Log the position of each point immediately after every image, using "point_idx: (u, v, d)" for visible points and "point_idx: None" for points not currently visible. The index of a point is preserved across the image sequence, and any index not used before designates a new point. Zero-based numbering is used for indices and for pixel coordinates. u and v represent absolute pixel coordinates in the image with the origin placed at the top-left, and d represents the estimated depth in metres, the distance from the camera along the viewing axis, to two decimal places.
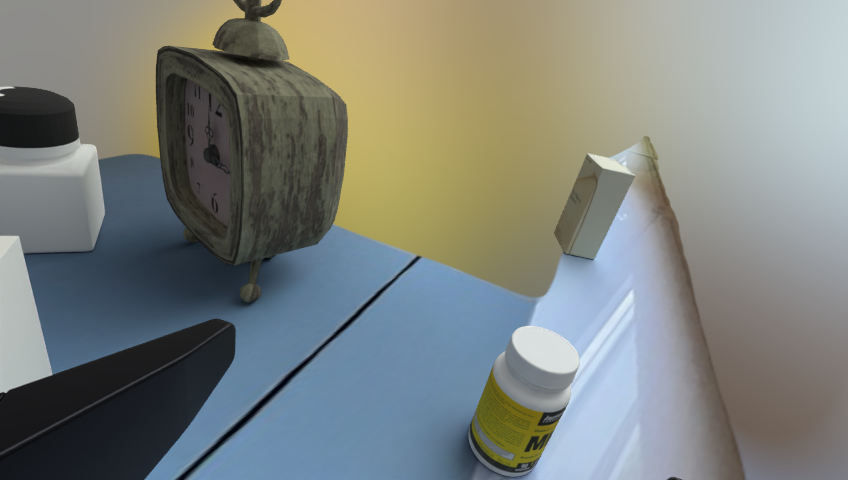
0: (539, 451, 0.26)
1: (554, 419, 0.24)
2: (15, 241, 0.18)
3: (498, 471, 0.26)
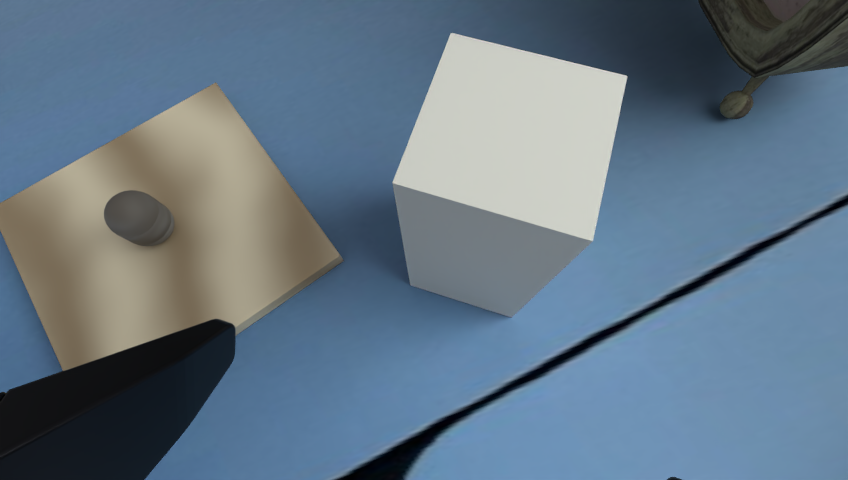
0: None
1: None
2: (624, 86, 0.13)
3: None
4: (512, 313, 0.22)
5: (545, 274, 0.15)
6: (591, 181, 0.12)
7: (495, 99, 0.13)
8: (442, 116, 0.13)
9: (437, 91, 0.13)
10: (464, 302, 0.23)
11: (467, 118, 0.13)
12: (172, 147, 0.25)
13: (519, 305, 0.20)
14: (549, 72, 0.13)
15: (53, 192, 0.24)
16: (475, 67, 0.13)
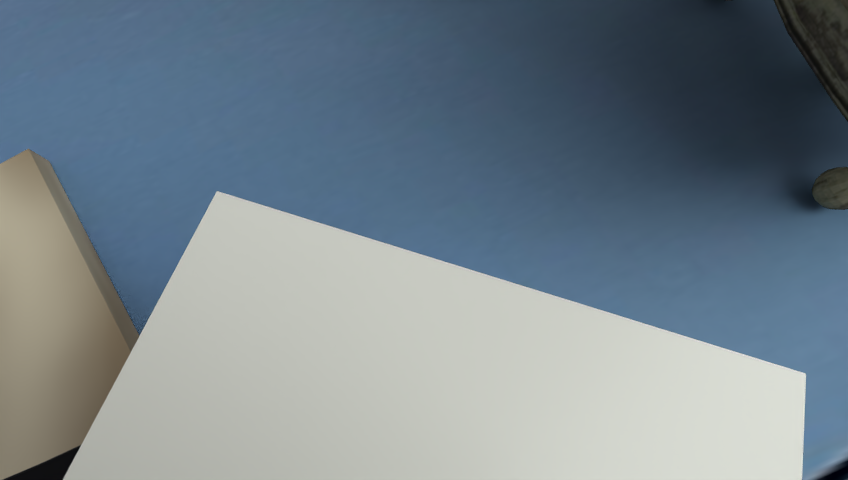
0: None
1: None
2: (796, 414, 0.04)
3: None
4: None
5: None
6: None
7: None
8: None
9: (120, 437, 0.04)
10: None
11: None
12: None
13: None
14: (527, 355, 0.04)
15: None
16: (272, 331, 0.04)
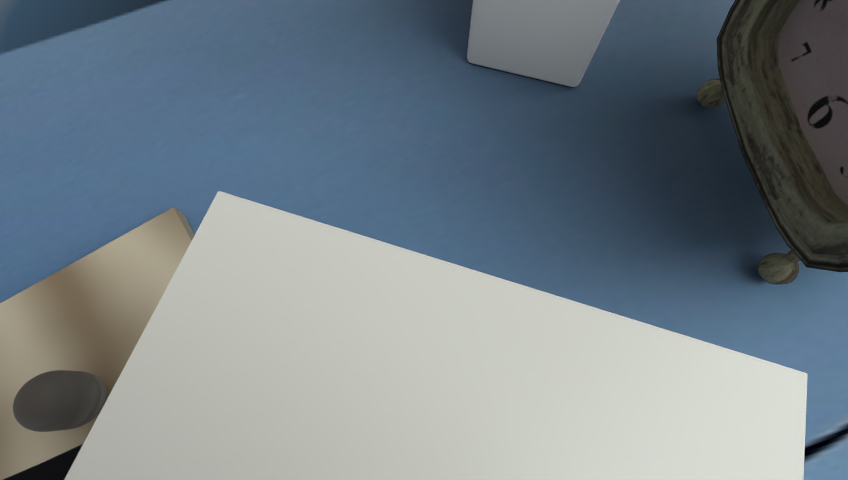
0: None
1: None
2: (798, 414, 0.04)
3: None
4: None
5: None
6: None
7: None
8: None
9: (122, 436, 0.04)
10: None
11: None
12: (116, 289, 0.22)
13: None
14: (529, 355, 0.04)
15: None
16: (274, 330, 0.04)
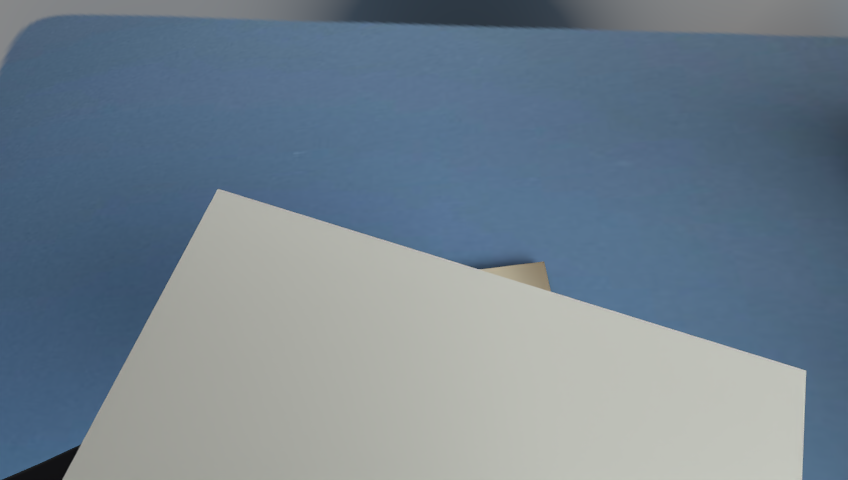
0: None
1: None
2: (796, 411, 0.04)
3: None
4: None
5: None
6: None
7: (324, 477, 0.03)
8: None
9: (121, 434, 0.04)
10: None
11: None
12: None
13: None
14: (528, 352, 0.04)
15: None
16: (273, 328, 0.04)
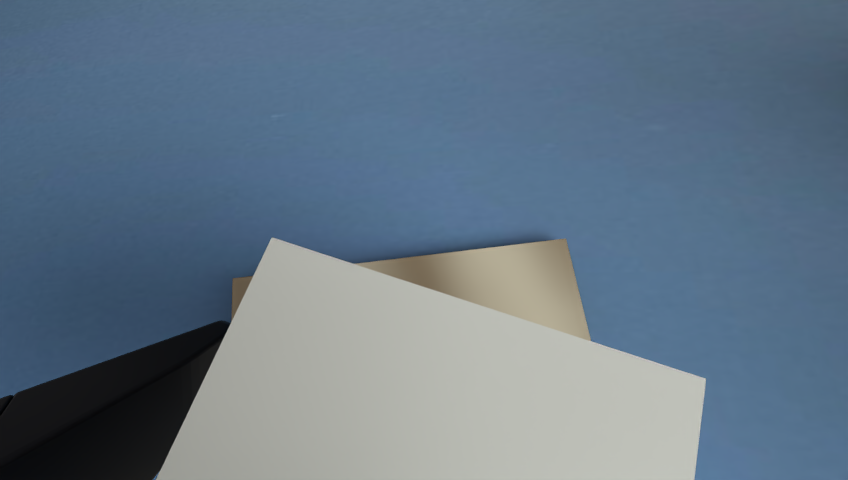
0: None
1: None
2: (698, 408, 0.05)
3: None
4: None
5: None
6: None
7: (356, 452, 0.05)
8: None
9: (208, 421, 0.05)
10: None
11: None
12: None
13: None
14: (504, 364, 0.05)
15: None
16: (317, 344, 0.05)
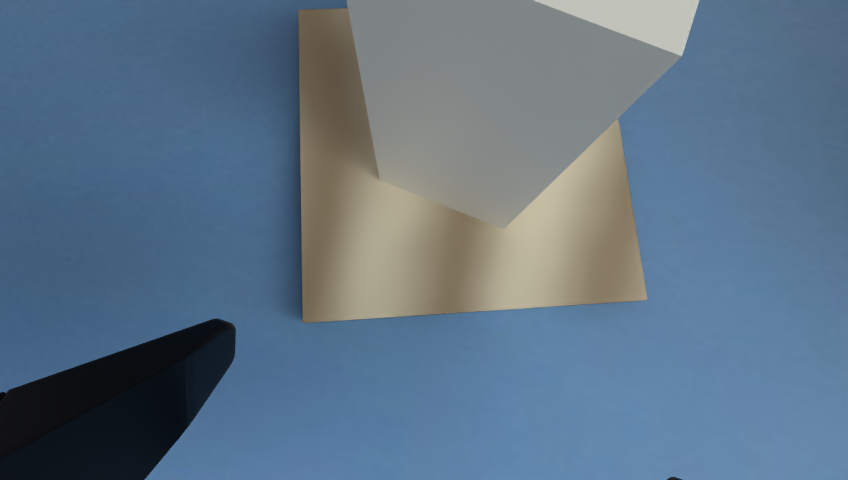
0: None
1: None
2: None
3: None
4: (505, 223, 0.17)
5: (569, 148, 0.10)
6: None
7: None
8: None
9: None
10: (446, 206, 0.18)
11: None
12: None
13: (517, 209, 0.15)
14: None
15: None
16: None
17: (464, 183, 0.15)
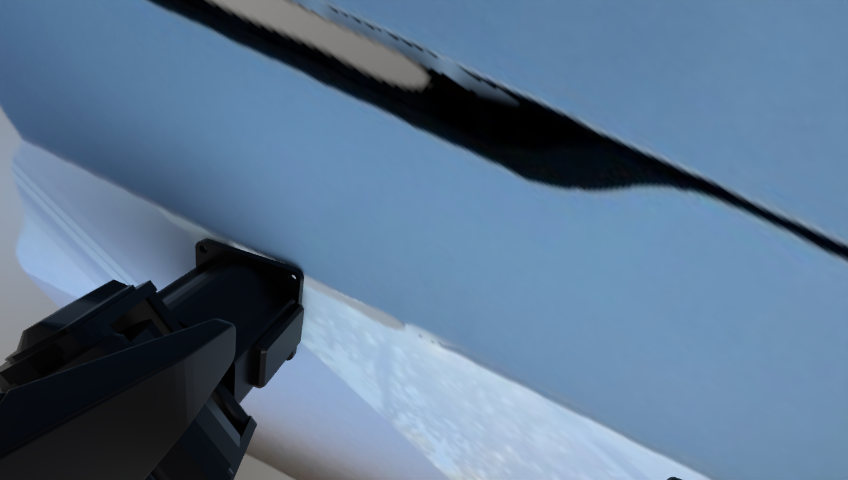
0: None
1: None
2: None
3: None
4: None
5: None
6: None
7: None
8: None
9: None
10: None
11: None
12: None
13: None
14: None
15: None
16: None
17: None
